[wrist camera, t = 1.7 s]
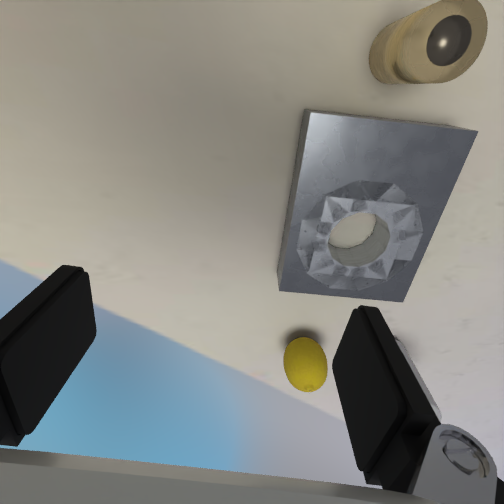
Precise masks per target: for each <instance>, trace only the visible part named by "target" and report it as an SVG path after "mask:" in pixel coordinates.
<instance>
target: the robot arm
mask: <svg viewBox="0 0 504 504" xmlns="http://www.w3.org/2000/svg"><path fill="white" fill-rule="evenodd" d="M95 336H96V323H95V317H94V309H93V302H92V295H91V287H90V280H89V275H88V273H87V272H84V269H83V268H82V267H77V266H69V265H62V266H61V267H59V268H58V269H57V270H56V271H55V272H54V273H52V274H51V275H50V276H49V277H48V278H47V279H46V280H45V281H43V282H42V283H41V284H40V285H39V286H38V287H37V288H35V289H34V290H33V291H32V292H31V293H30V294H29V295H28V296H26V297H25V298H24V299H23V300H22V301H21V302H20V303H18V304H17V305H16V306H15V307H14V308H13V309H12V310H11V311H9V312H8V313H7V314H6V315H5V316H4V317H3V318H1V319H0V445H8V446H18V445H19V443H20V442H21V440H22V439H23V437H24V436H25V435H29V434H31V433H32V432H33V431H34V429H35V428H36V426H37V425H38V423H39V422H40V420H41V419H42V417H43V416H44V414H45V413H46V411H47V410H48V408H49V407H50V405H51V403H52V402H53V401H54V399H55V398H56V396H57V395H58V393H59V392H60V390H61V389H62V387H63V386H64V384H65V383H66V381H67V380H68V378H69V377H70V375H71V374H72V372H73V371H74V369H75V368H76V366H77V365H78V363H79V362H80V360H81V359H82V357H83V356H84V354H85V353H86V351H87V350H88V348H89V347H90V345H91V344H92V342H93V341H94V339H95ZM332 369H333V374H334V378H335V382H336V386H337V389H338V393H339V397H340V401H341V405H342V409H343V413H344V417H345V421H346V425H347V429H348V432H349V436H350V440H351V444H352V448H353V452H354V456H355V460H356V464H357V467H358V469H359V470H360V471H363V473H364V476H365V480H366V484H372V485H381V486H382V488H383V489H376V488H368V487H361V486H354V485H346V484H338V483H331V482H322V481H313V480H305V479H296V478H286V477H277V476H269V475H260V474H251V473H242V472H233V471H224V470H214V469H205V468H196V467H187V466H177V465H167V464H158V463H149V462H139V461H130V460H119V459H110V458H100V457H90V456H81V455H70V454H61V453H51V452H40V451H29V450H17V449H4V448H0V504H504V482H503V481H502V480H501V479H499V478H498V477H497V468H496V465H495V463H494V461H493V458H492V457H491V455H490V454H489V452H488V451H487V449H486V448H485V447H484V446H483V445H482V444H481V443H480V442H479V441H478V440H477V439H476V438H475V437H473V436H472V435H471V434H469V433H468V432H466V431H465V430H463V429H461V428H459V427H456V426H453V425H450V424H441V423H440V421H439V419H438V417H437V416H436V414H435V412H434V410H433V408H432V406H431V404H430V403H429V401H428V399H427V397H426V395H425V393H424V391H423V390H422V388H421V386H420V384H419V382H418V380H417V378H416V377H415V375H414V373H413V371H412V369H411V367H410V365H409V364H408V362H407V360H406V358H405V356H404V354H403V353H402V351H401V350H400V348H399V346H398V344H397V342H396V340H395V338H394V337H393V335H392V333H391V331H390V329H389V327H388V325H387V324H386V322H385V320H384V318H383V316H382V314H381V312H380V310H379V309H378V308H376V307H370V306H363V305H361V306H359V307H358V309H354V310H353V311H352V314H351V316H350V319H349V321H348V324H347V326H346V329H345V331H344V334H343V336H342V339H341V341H340V344H339V346H338V349H337V351H336V354H335V356H334V359H333V363H332Z"/></svg>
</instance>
